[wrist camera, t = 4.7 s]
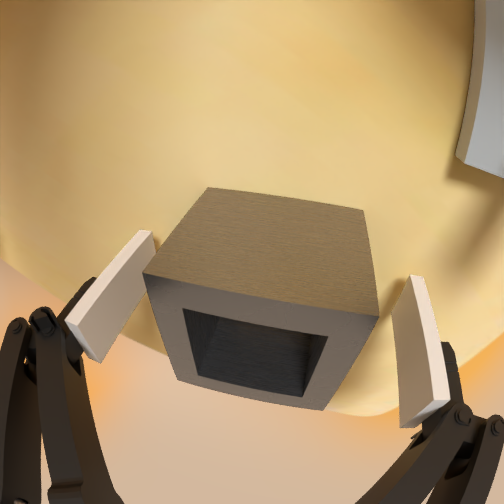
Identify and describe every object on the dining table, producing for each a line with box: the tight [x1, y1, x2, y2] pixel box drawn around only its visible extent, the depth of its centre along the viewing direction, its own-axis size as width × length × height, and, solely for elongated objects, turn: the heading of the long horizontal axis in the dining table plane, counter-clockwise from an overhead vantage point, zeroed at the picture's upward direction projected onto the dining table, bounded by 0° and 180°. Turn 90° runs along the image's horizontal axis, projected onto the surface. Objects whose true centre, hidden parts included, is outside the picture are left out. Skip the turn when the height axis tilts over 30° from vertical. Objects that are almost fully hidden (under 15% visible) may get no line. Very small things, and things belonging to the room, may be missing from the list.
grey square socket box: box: [142, 187, 379, 411], centre depth 12 cm, size 7×7×6 cm
